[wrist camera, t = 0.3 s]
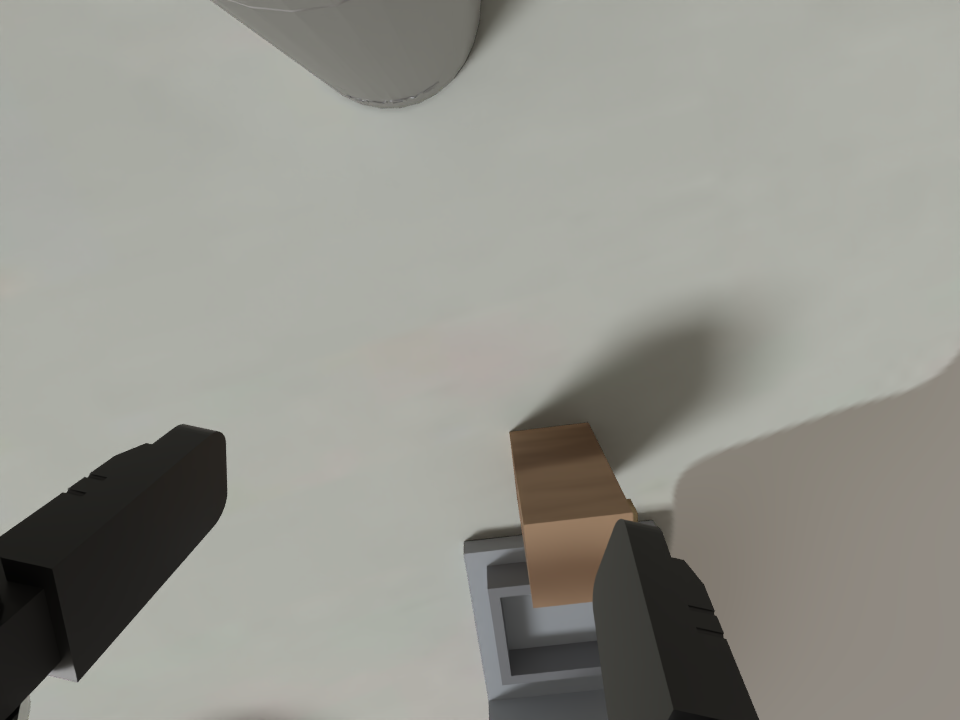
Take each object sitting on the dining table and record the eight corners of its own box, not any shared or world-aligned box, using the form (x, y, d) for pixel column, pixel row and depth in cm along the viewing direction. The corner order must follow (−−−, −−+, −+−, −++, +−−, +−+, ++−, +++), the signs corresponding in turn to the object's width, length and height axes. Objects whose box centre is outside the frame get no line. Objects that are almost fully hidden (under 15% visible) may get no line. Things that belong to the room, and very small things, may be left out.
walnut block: (509, 431, 31) (523, 524, 22) (600, 420, 30) (650, 510, 22) (517, 498, 32) (533, 608, 24) (604, 488, 32) (651, 595, 24)
